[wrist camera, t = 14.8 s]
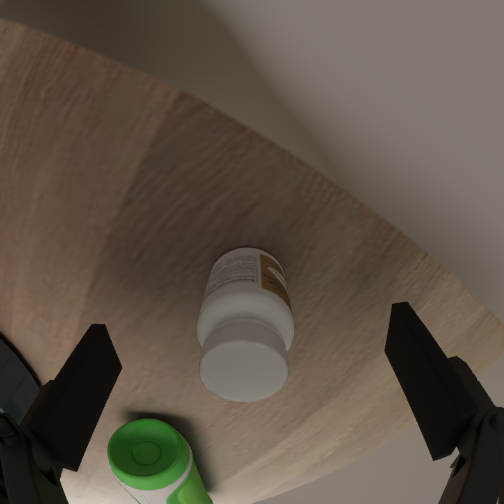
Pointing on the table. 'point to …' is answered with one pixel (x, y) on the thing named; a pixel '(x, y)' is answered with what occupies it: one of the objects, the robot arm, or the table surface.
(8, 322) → the table surface
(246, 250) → the pill bottle
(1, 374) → the blue round bin
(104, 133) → the table surface
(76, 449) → the robot arm
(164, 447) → the speaker
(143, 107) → the table surface
